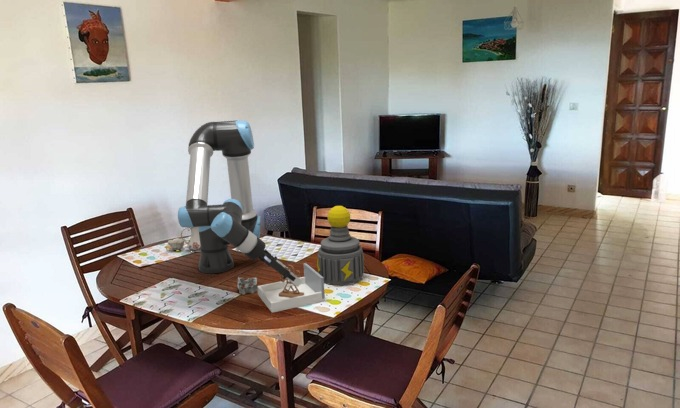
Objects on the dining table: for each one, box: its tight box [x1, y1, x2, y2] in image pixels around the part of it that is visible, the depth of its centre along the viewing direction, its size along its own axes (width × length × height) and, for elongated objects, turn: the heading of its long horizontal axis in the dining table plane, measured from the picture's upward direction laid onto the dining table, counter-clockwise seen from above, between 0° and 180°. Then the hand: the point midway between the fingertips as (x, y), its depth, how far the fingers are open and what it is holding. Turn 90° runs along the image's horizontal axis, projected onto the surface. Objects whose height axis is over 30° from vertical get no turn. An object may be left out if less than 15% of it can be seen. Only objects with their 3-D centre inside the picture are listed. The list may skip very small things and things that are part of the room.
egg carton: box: [236, 276, 258, 295], centre depth 195 cm, size 11×8×4 cm
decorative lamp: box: [316, 205, 365, 286], centre depth 200 cm, size 19×19×30 cm
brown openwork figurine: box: [279, 264, 304, 298], centre depth 183 cm, size 9×4×12 cm, turn 69°
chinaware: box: [165, 227, 201, 253], centre depth 248 cm, size 28×17×17 cm, turn 129°
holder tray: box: [256, 262, 326, 313], centre depth 184 cm, size 18×20×9 cm
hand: (293, 277), depth 184 cm, fingers open, 13 cm apart
